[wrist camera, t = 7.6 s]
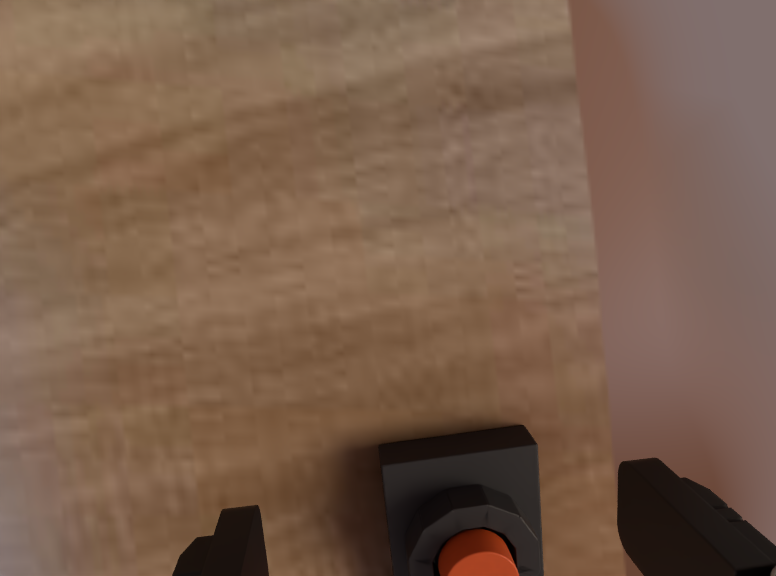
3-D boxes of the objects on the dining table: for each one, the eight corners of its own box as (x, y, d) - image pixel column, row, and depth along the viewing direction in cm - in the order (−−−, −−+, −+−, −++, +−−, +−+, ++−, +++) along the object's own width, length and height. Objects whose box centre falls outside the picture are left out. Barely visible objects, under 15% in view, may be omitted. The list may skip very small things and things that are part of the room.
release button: (506, 523, 28) (517, 546, 26) (510, 585, 29) (522, 612, 27) (434, 533, 28) (440, 558, 26) (440, 596, 28) (447, 624, 27)
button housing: (524, 424, 31) (551, 462, 27) (532, 581, 33) (558, 637, 29) (378, 444, 30) (383, 486, 26) (396, 602, 32) (404, 662, 29)
